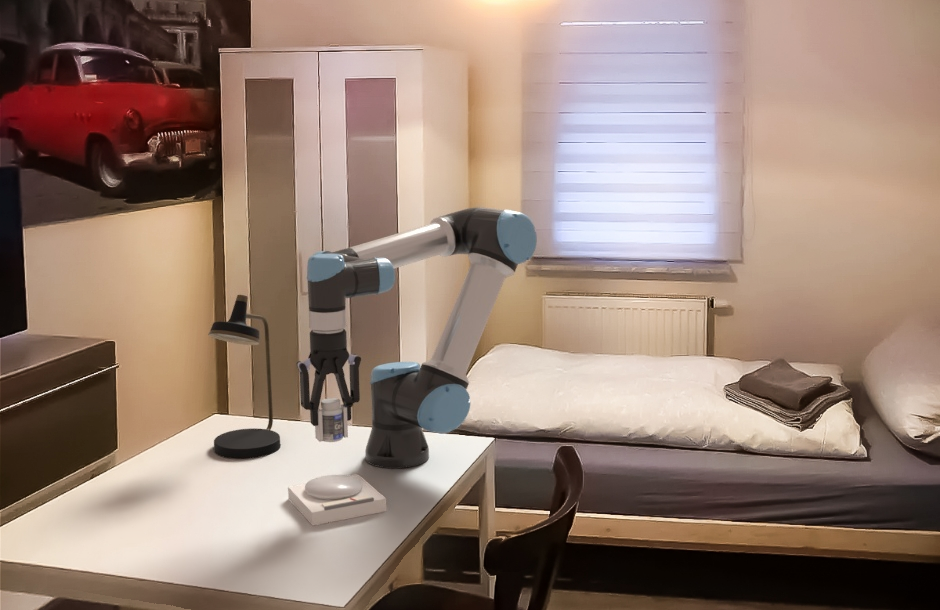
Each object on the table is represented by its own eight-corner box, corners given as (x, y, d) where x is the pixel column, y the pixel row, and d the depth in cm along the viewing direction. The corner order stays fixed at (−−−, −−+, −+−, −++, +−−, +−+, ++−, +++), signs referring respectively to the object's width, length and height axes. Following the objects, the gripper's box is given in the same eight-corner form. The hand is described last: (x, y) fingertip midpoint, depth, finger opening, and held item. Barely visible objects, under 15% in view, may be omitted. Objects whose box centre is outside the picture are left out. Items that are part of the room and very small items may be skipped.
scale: (358, 486, 231) (357, 469, 230) (386, 511, 217) (385, 492, 216) (288, 499, 224) (287, 481, 223) (312, 525, 210) (312, 506, 209)
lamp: (198, 456, 250) (188, 299, 243) (244, 429, 271) (237, 283, 263) (257, 463, 245) (250, 303, 238) (300, 435, 266) (294, 287, 258)
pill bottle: (339, 443, 216) (337, 404, 214) (317, 442, 217) (315, 403, 215) (346, 436, 220) (344, 397, 219) (325, 434, 221) (323, 396, 220)
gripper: (361, 321, 221) (364, 426, 226) (280, 330, 213) (285, 439, 218) (374, 328, 215) (377, 436, 219) (291, 337, 207) (296, 449, 211)
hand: (331, 437), depth 219 cm, fingers closed on pill bottle, 5 cm apart
